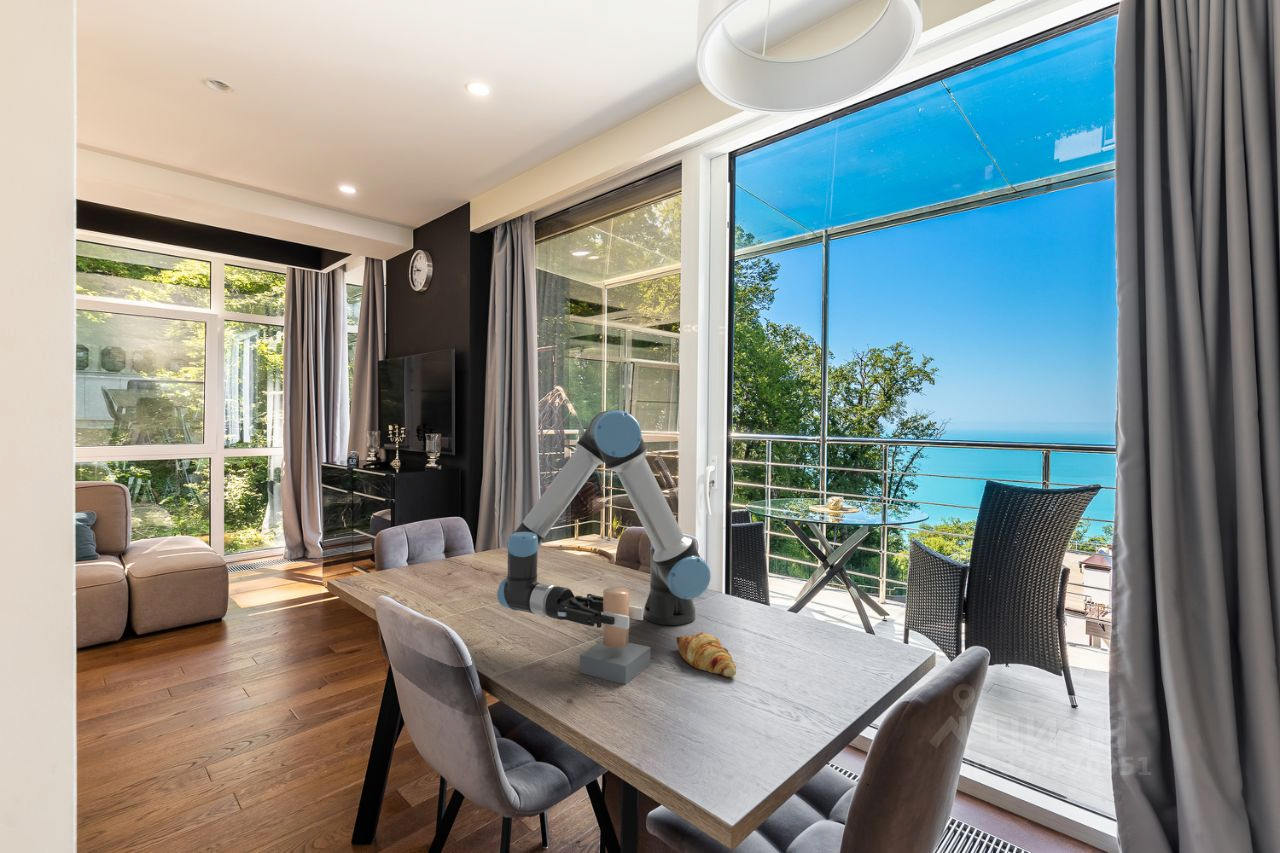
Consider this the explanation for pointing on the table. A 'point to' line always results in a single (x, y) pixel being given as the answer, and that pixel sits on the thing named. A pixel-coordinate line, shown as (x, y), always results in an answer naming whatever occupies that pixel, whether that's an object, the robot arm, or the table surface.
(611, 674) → the pedestal
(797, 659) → the table surface
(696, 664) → the croissant
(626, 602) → the canister
